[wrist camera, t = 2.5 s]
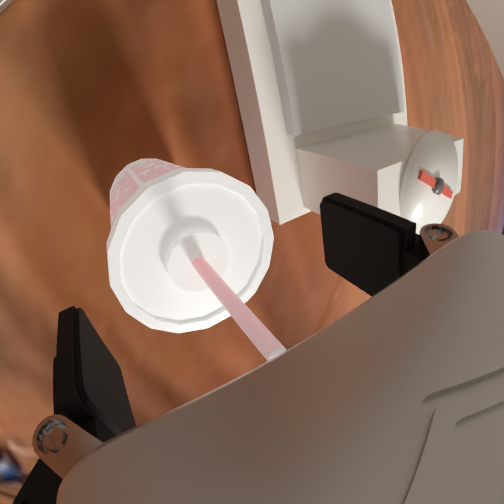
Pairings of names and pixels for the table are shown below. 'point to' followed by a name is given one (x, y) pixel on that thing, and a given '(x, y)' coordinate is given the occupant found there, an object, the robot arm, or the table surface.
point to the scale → (333, 110)
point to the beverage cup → (188, 249)
